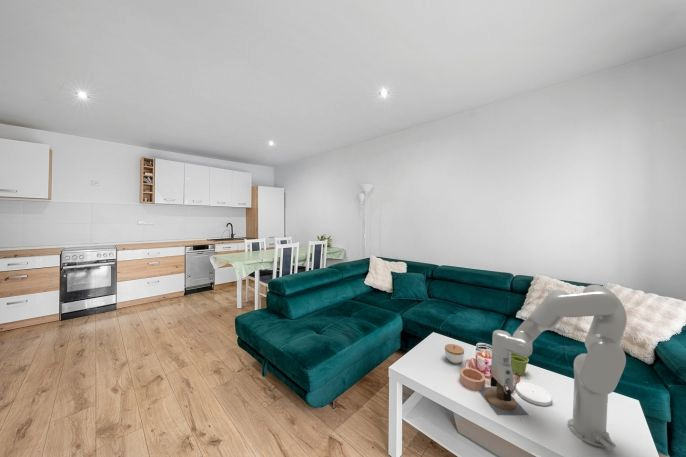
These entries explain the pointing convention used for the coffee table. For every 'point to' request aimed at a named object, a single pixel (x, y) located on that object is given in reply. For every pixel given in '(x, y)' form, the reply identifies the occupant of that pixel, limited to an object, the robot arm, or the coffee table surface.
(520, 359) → the plant pot
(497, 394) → the lid
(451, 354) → the lidded jar
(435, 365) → the coffee table surface
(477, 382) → the bowl
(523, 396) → the plastic lid
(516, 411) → the mat
